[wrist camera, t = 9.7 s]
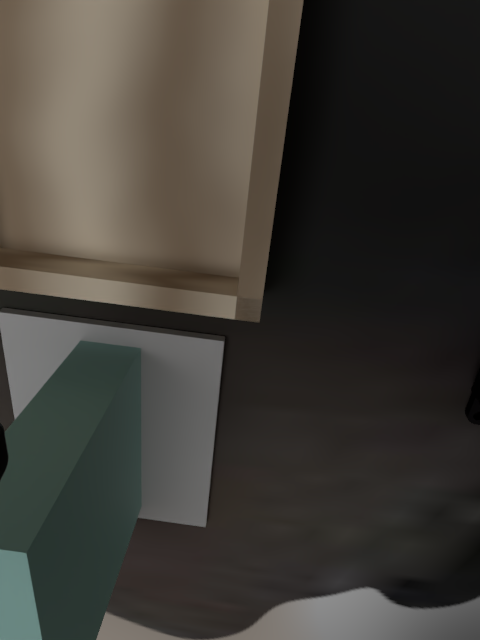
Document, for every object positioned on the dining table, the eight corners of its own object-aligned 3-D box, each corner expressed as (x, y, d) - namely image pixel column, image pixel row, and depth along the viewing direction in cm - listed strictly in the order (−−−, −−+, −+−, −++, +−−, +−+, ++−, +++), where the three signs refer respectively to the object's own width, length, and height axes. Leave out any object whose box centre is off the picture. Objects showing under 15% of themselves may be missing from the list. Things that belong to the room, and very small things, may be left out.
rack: (328, -198, 13) (340, -272, 11) (262, 293, 21) (259, 322, 18) (-314, -260, 14) (-456, -344, 11) (-160, 239, 21) (-224, 260, 18)
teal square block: (141, 348, 22) (26, 552, 12) (141, 506, 27) (60, 742, 17) (80, 340, 22) (-83, 537, 12) (92, 499, 27) (-17, 730, 17)
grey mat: (225, 336, 22) (223, 341, 21) (206, 520, 28) (205, 527, 27) (3, 307, 22) (-3, 311, 22) (31, 495, 28) (27, 501, 27)
